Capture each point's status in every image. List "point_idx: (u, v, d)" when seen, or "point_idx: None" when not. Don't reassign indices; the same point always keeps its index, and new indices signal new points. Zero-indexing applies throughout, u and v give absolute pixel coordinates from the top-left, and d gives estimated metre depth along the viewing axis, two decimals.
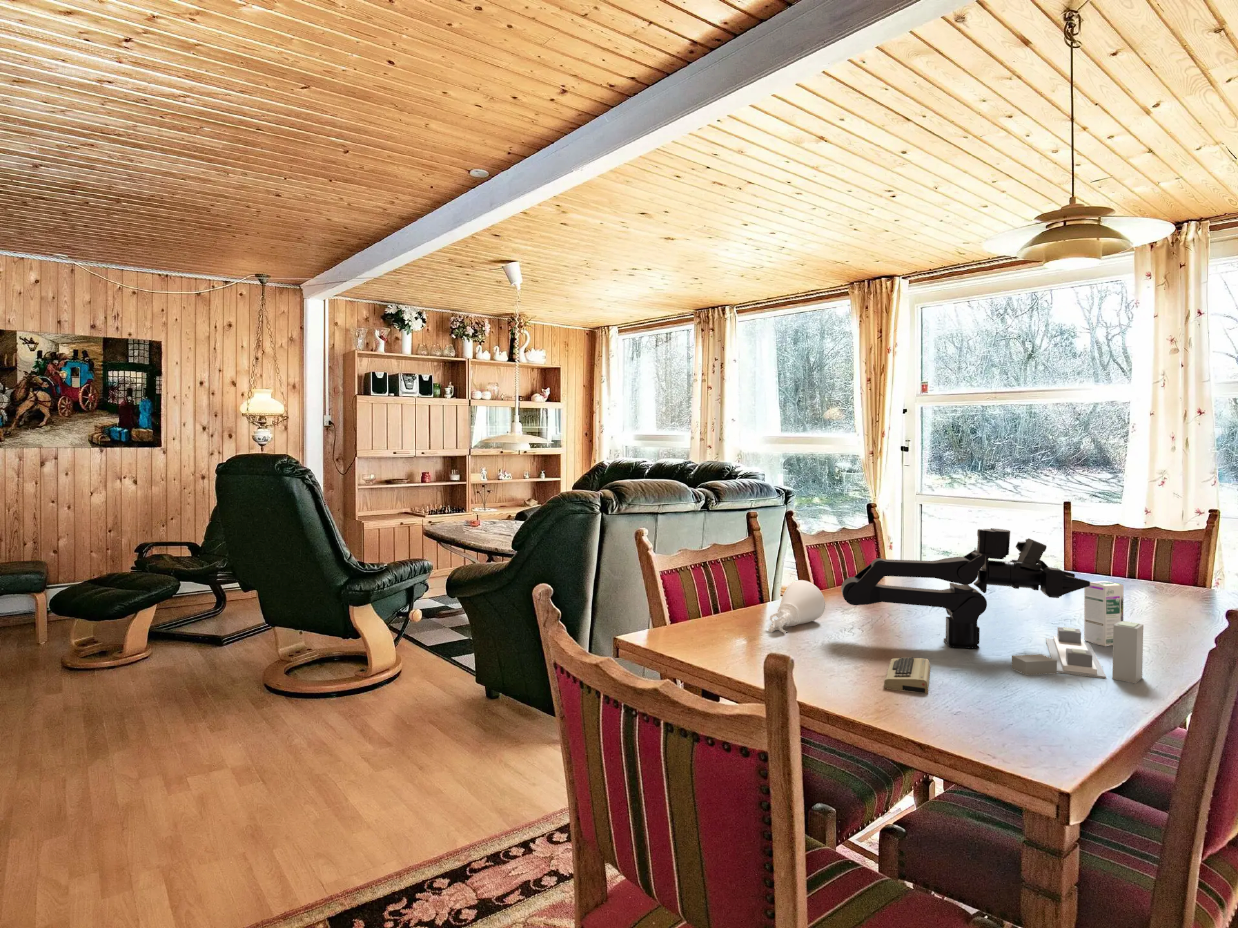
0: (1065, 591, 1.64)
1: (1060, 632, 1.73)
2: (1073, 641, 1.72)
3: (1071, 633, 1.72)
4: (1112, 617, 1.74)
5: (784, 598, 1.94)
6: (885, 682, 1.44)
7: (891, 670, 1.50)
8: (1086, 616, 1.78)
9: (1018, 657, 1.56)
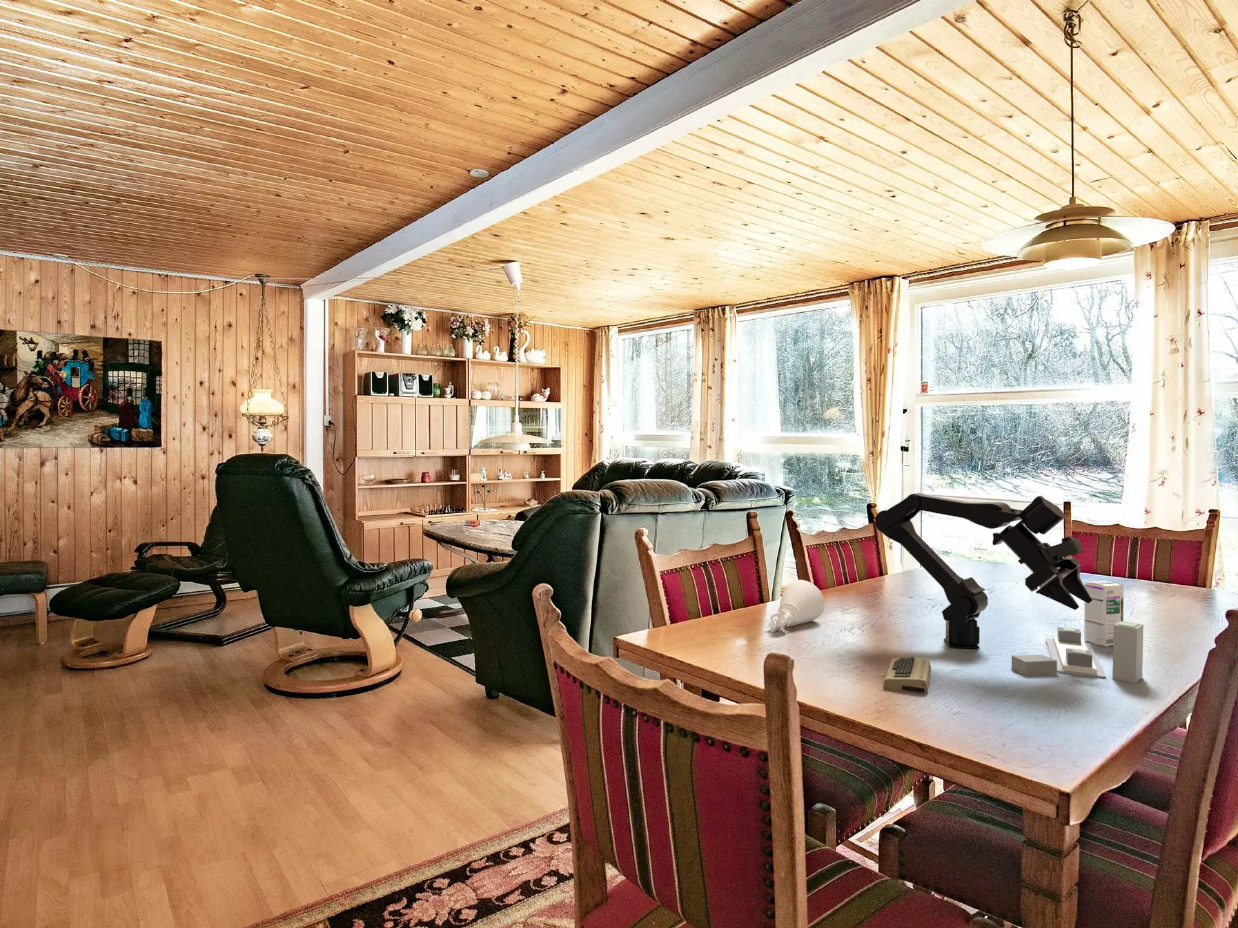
0: (1047, 594, 1.56)
1: (1060, 632, 1.73)
2: (1073, 641, 1.72)
3: (1071, 633, 1.72)
4: (1112, 617, 1.74)
5: (784, 598, 1.94)
6: (885, 682, 1.45)
7: (891, 670, 1.50)
8: (1086, 616, 1.78)
9: (1018, 657, 1.56)
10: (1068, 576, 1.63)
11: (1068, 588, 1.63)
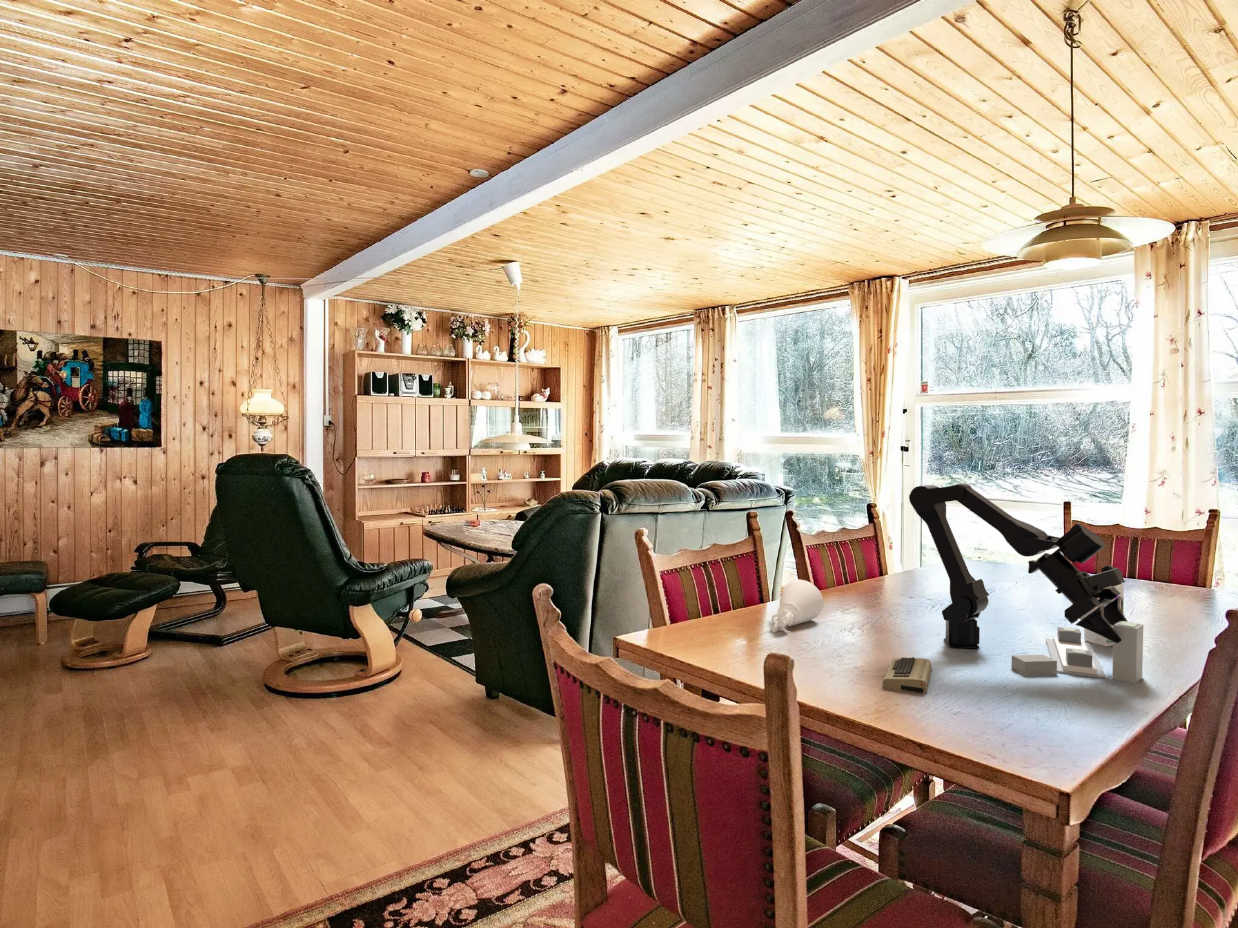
0: (1087, 626, 1.50)
1: (1060, 632, 1.73)
2: (1073, 641, 1.72)
3: (1071, 633, 1.72)
4: None
5: (784, 598, 1.94)
6: (884, 682, 1.45)
7: (891, 670, 1.50)
8: None
9: (1018, 657, 1.56)
10: (1108, 606, 1.57)
11: (1108, 619, 1.57)
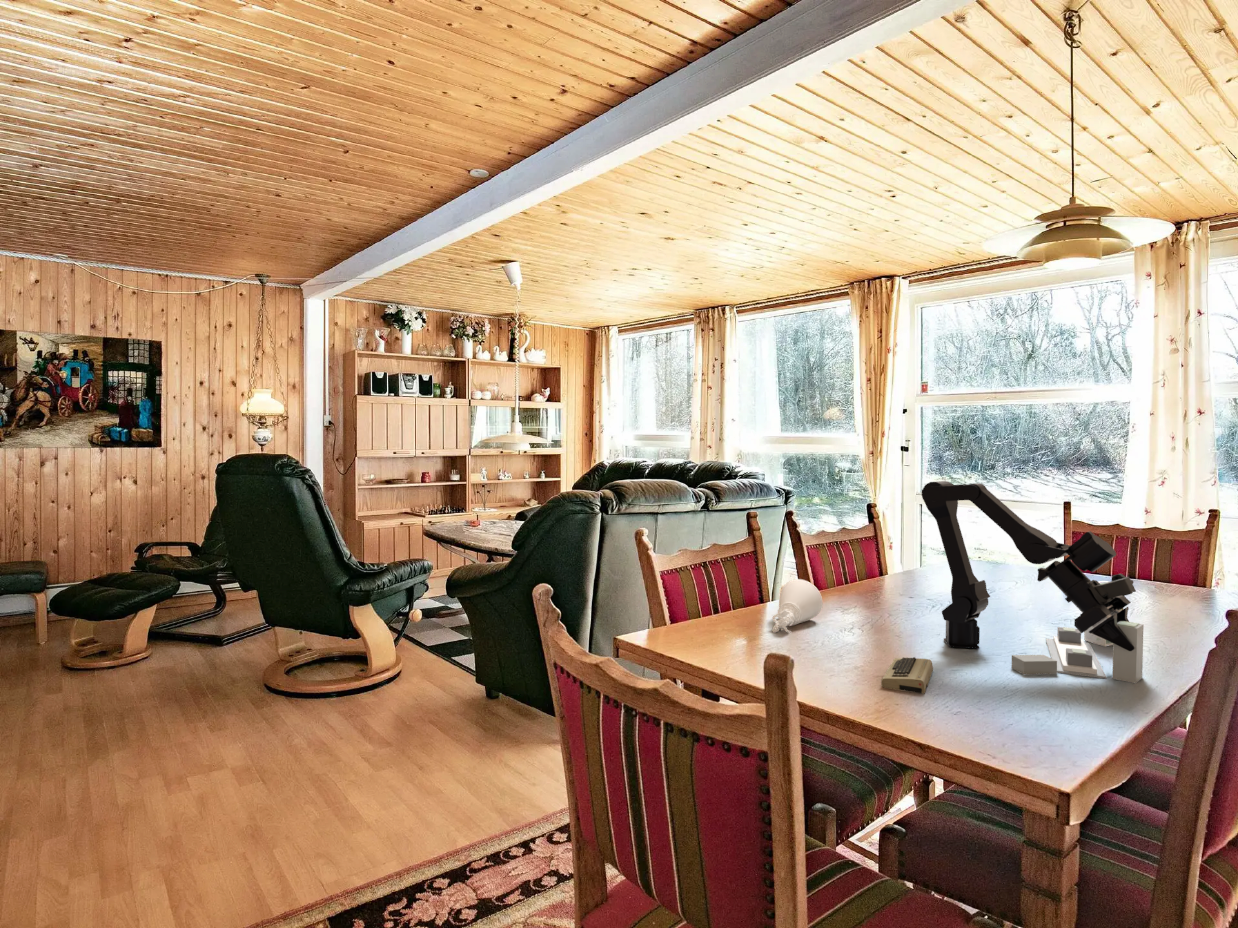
0: (1100, 634, 1.50)
1: (1060, 632, 1.73)
2: (1073, 641, 1.72)
3: (1071, 633, 1.72)
4: None
5: (784, 598, 1.95)
6: (882, 681, 1.45)
7: (890, 670, 1.50)
8: None
9: (1018, 657, 1.56)
10: None
11: None
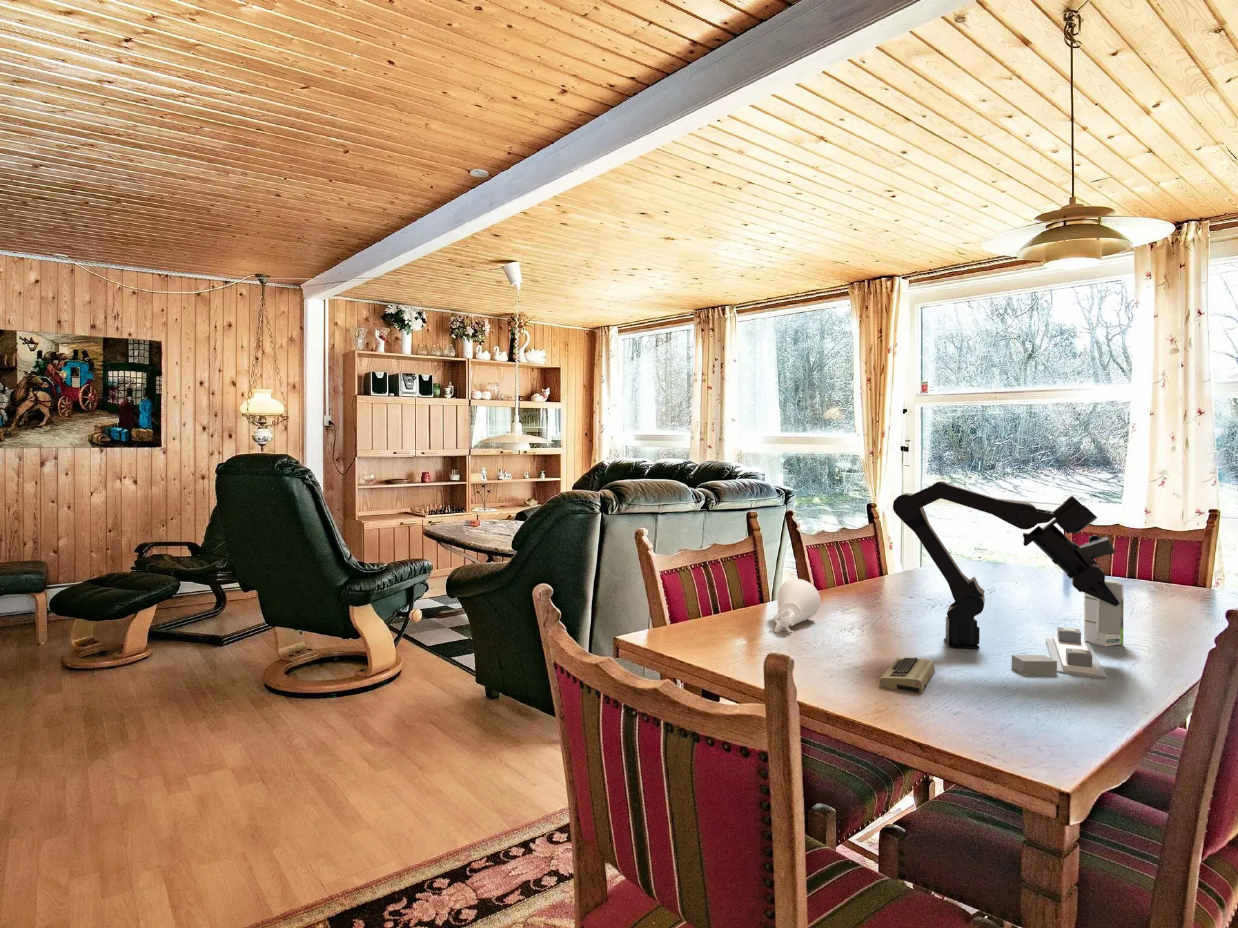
0: (1090, 592, 1.59)
1: (1060, 632, 1.73)
2: (1073, 641, 1.72)
3: (1071, 633, 1.72)
4: None
5: (783, 597, 1.95)
6: (880, 681, 1.45)
7: (890, 669, 1.50)
8: (1086, 616, 1.78)
9: (1017, 656, 1.56)
10: None
11: None
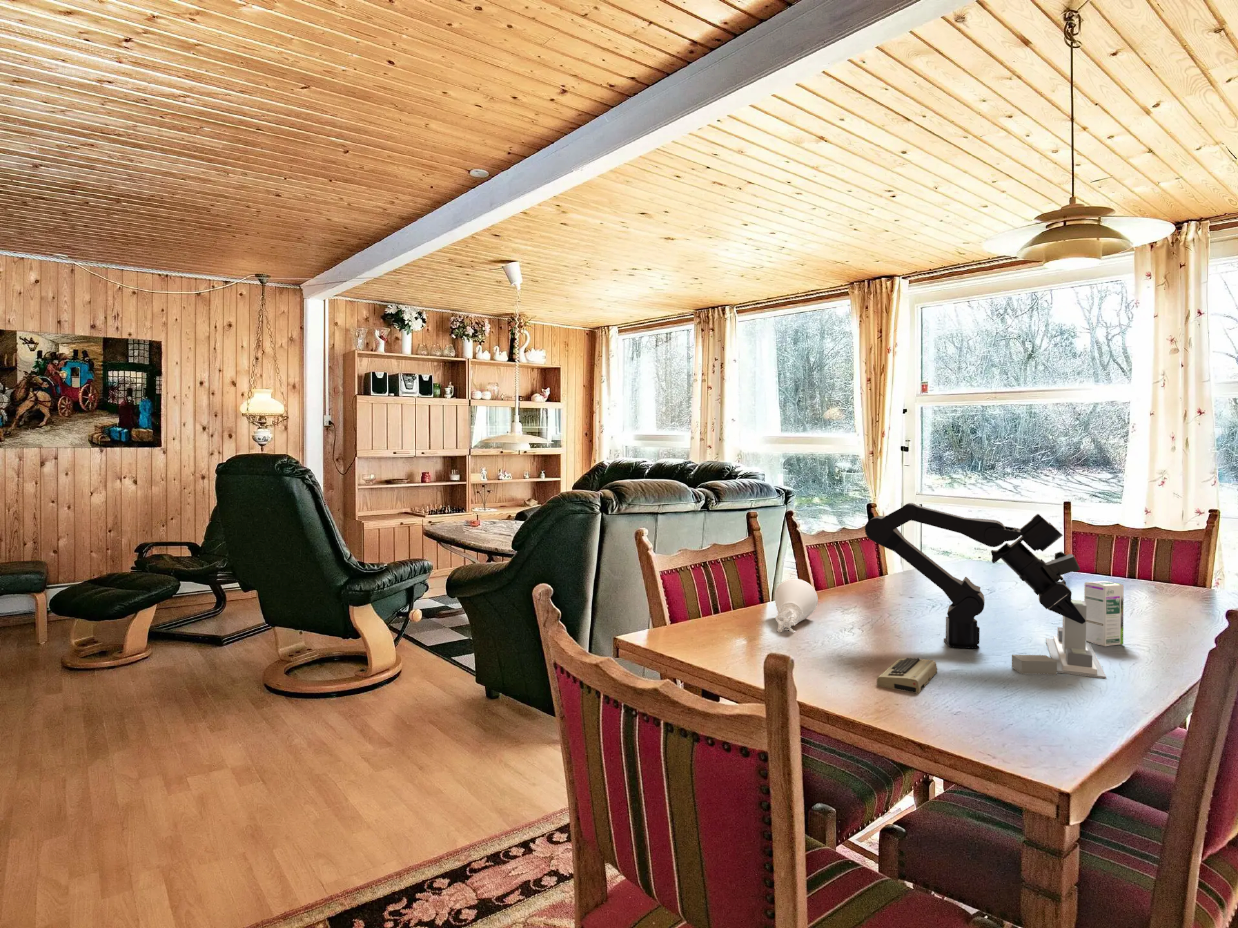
0: (1057, 610, 1.60)
1: (1060, 632, 1.73)
2: None
3: None
4: (1112, 617, 1.74)
5: (783, 597, 1.95)
6: (877, 680, 1.46)
7: (890, 669, 1.50)
8: (1086, 616, 1.78)
9: (1017, 656, 1.56)
10: None
11: None
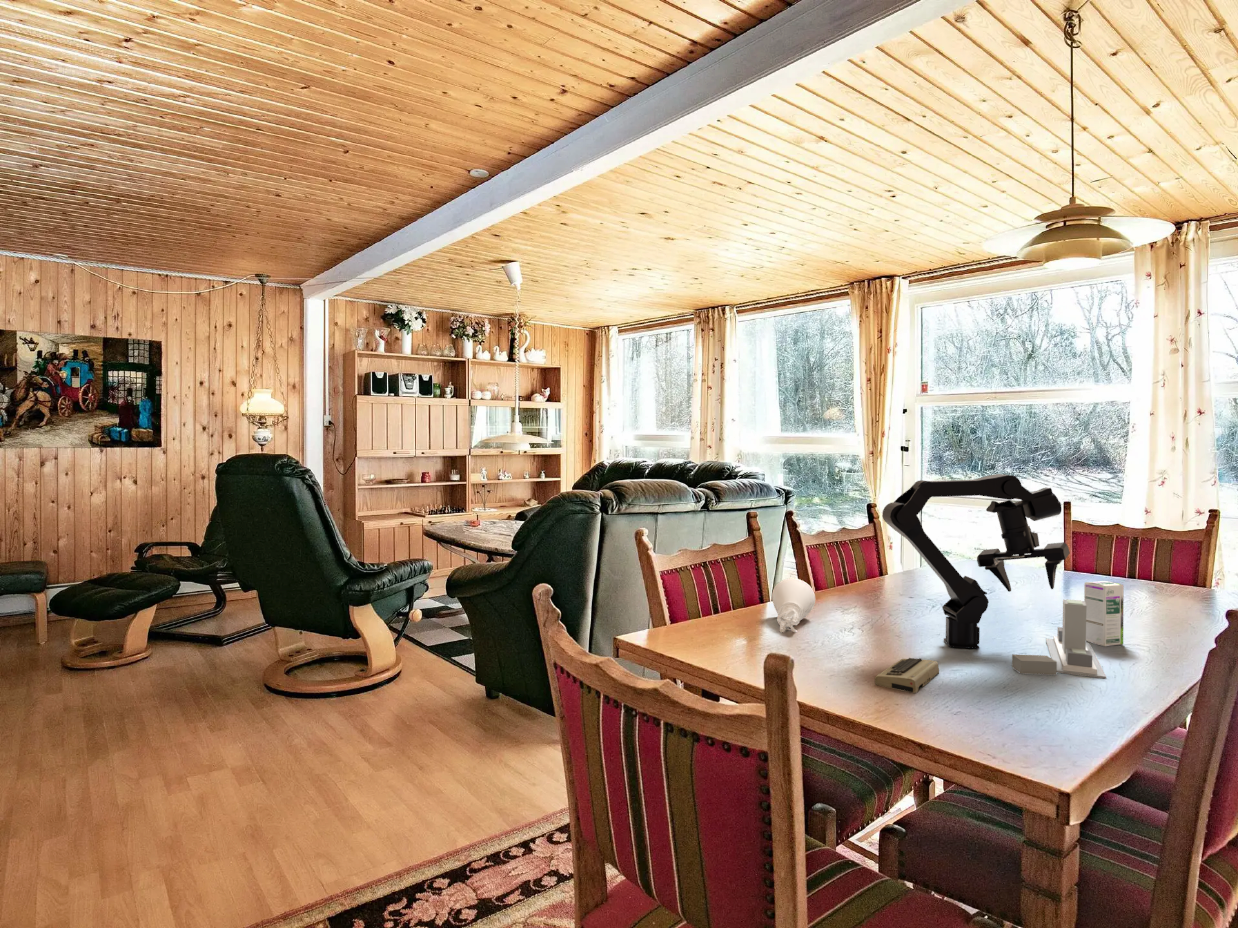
0: (1053, 568, 1.68)
1: (1060, 632, 1.73)
2: None
3: None
4: (1112, 617, 1.74)
5: (782, 597, 1.95)
6: (875, 679, 1.46)
7: (889, 668, 1.51)
8: (1086, 616, 1.78)
9: (1017, 656, 1.57)
10: (1001, 564, 1.78)
11: (1002, 574, 1.76)
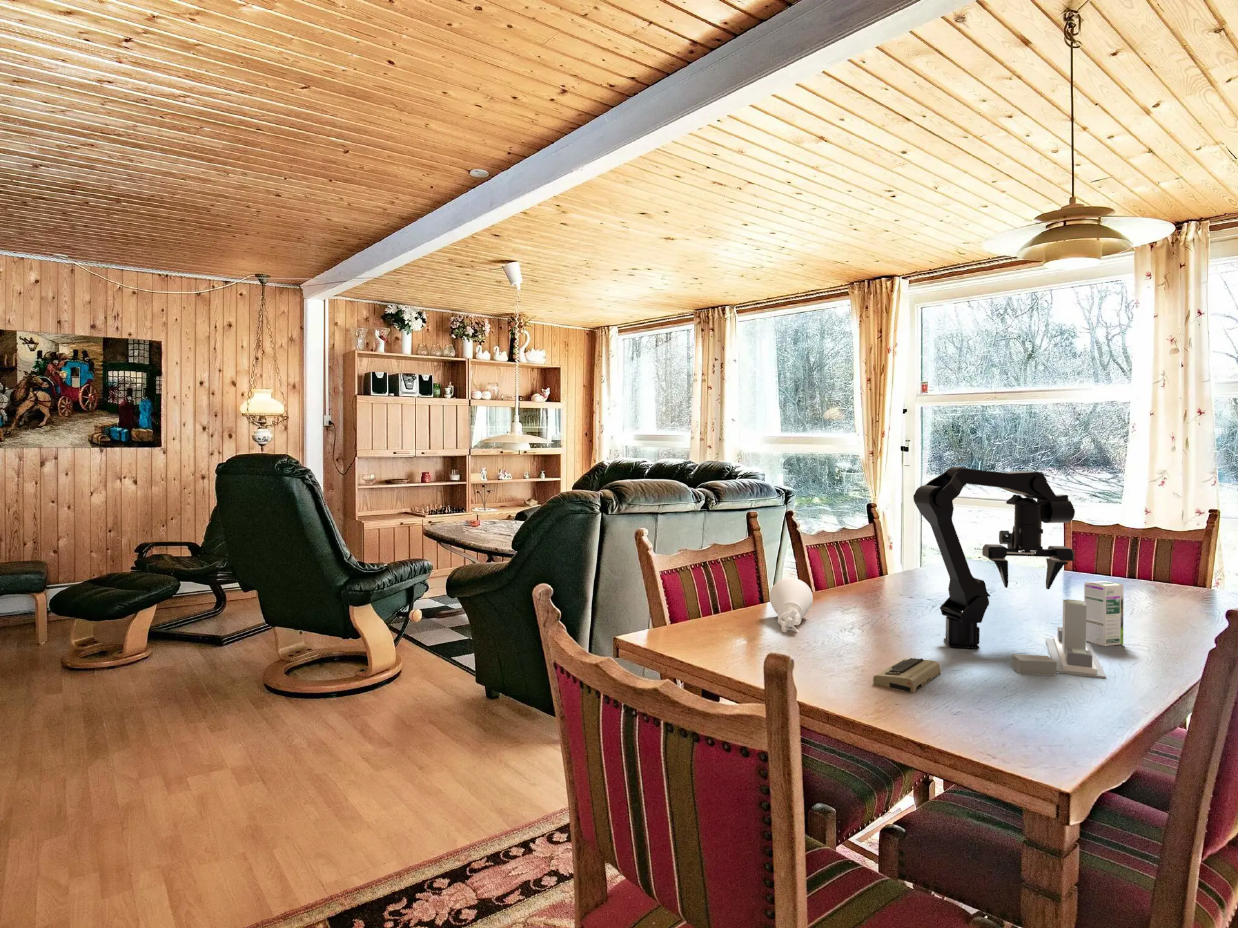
0: None
1: (1060, 632, 1.73)
2: None
3: None
4: (1112, 617, 1.74)
5: (782, 597, 1.95)
6: (874, 678, 1.47)
7: (889, 668, 1.51)
8: (1086, 616, 1.78)
9: (1017, 656, 1.57)
10: None
11: None
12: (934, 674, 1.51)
